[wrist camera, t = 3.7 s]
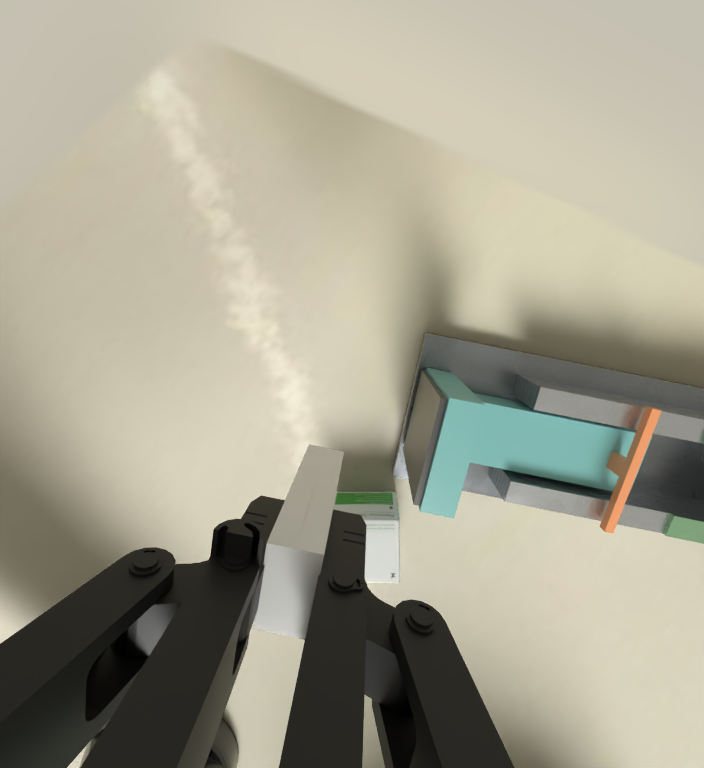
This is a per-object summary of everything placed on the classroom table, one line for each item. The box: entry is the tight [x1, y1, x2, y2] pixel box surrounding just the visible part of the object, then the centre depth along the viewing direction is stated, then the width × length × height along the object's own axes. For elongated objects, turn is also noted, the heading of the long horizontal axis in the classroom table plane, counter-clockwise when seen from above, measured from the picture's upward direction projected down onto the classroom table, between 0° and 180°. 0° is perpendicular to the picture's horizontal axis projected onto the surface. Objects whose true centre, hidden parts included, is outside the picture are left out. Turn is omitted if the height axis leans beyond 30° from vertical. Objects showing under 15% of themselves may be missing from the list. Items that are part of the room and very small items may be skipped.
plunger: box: [403, 368, 661, 533], centre depth 26 cm, size 16×9×9 cm, turn 79°
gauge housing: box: [392, 333, 704, 543], centre depth 28 cm, size 27×12×7 cm, turn 79°
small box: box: [333, 491, 400, 583], centre depth 32 cm, size 6×6×5 cm
